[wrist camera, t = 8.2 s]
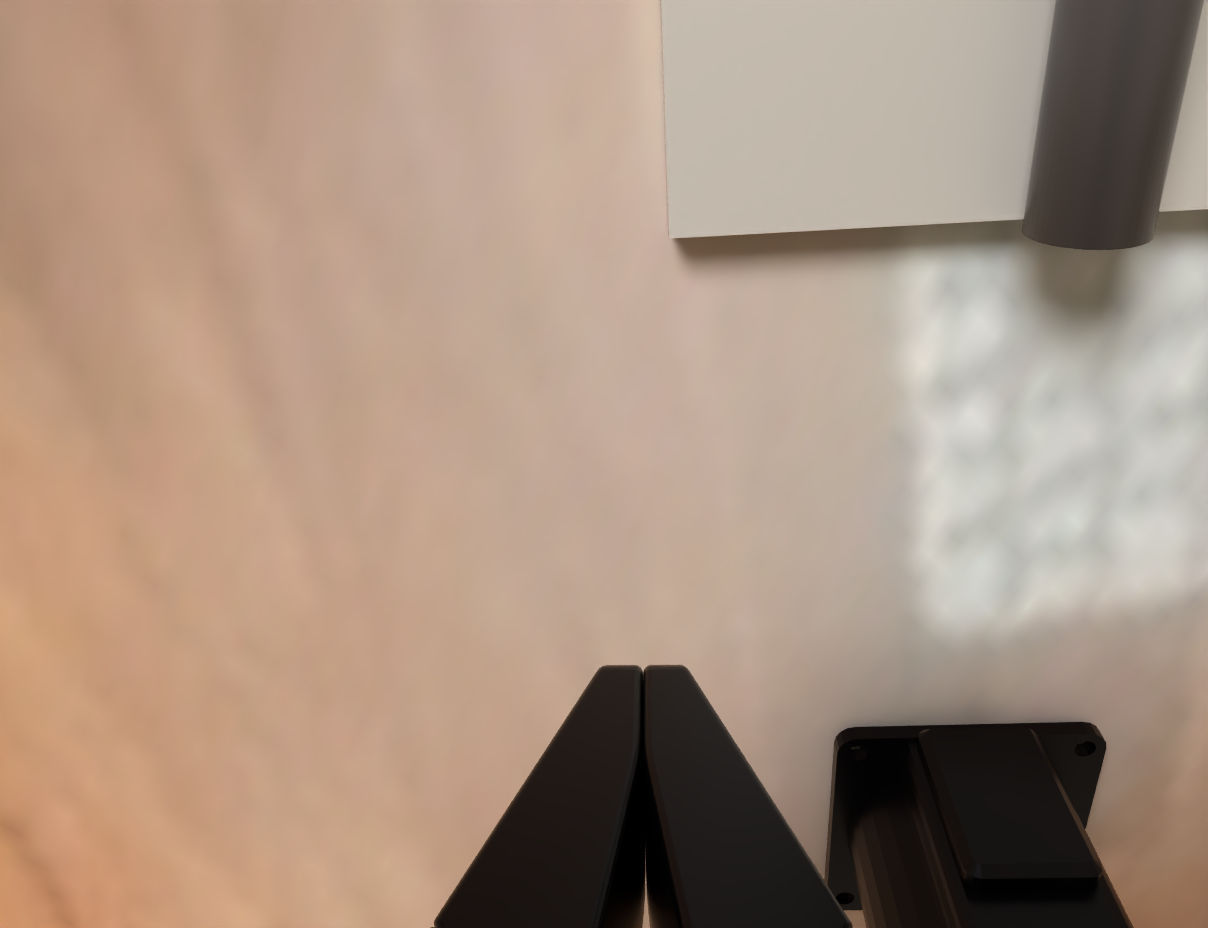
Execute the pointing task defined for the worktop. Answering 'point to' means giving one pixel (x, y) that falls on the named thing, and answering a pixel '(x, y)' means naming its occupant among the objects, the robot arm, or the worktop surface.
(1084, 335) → the worktop surface
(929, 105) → the board
